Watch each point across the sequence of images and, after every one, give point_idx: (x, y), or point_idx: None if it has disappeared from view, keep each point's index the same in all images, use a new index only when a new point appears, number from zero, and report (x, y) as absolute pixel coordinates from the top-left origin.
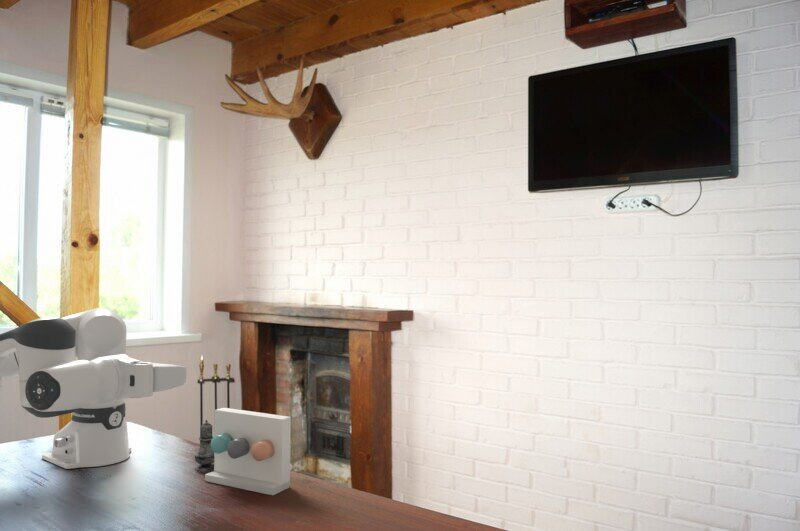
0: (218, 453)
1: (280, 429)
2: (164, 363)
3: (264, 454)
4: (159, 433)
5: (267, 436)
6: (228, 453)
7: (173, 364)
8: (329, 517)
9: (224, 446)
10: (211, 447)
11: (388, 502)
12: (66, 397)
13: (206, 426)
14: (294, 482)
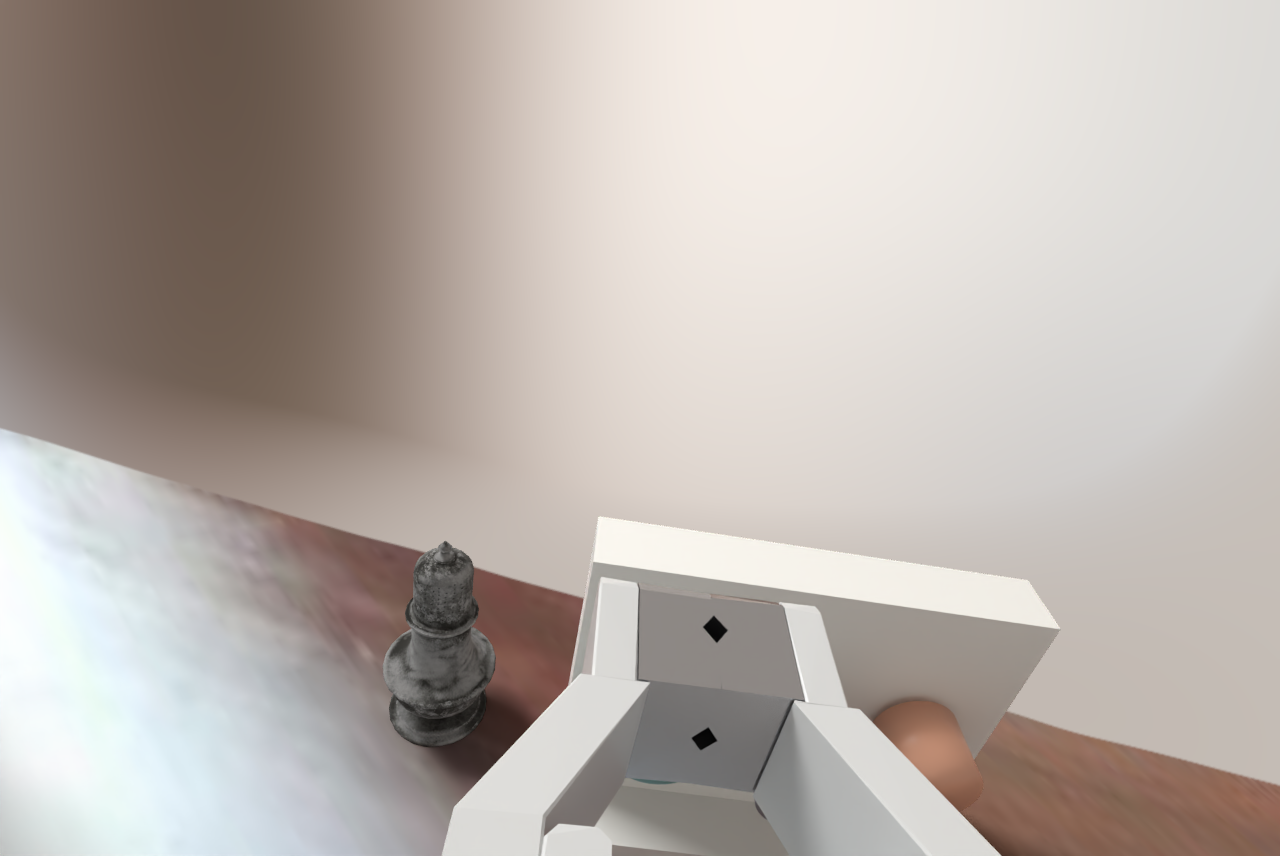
0: (659, 783)
1: (1026, 665)
2: (614, 590)
3: (971, 799)
4: (18, 438)
5: (928, 684)
6: (760, 810)
7: (822, 619)
8: None
9: None
10: None
11: (1259, 796)
12: None
13: (457, 578)
14: None
